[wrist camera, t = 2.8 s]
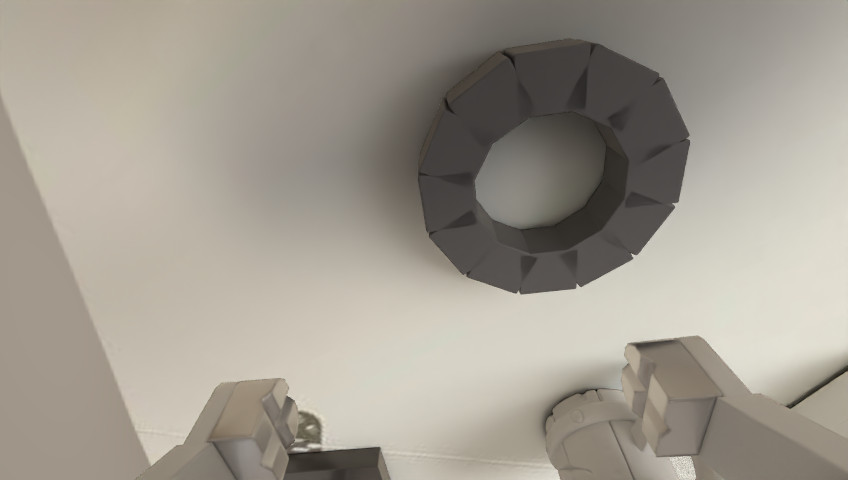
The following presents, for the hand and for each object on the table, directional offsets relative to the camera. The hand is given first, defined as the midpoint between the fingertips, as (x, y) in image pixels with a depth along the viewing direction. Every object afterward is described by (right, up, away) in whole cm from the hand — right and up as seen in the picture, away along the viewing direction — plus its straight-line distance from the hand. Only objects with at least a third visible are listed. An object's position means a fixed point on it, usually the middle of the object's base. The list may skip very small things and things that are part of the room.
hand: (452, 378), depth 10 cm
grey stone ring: (+5, +7, +10) cm, 13 cm away
